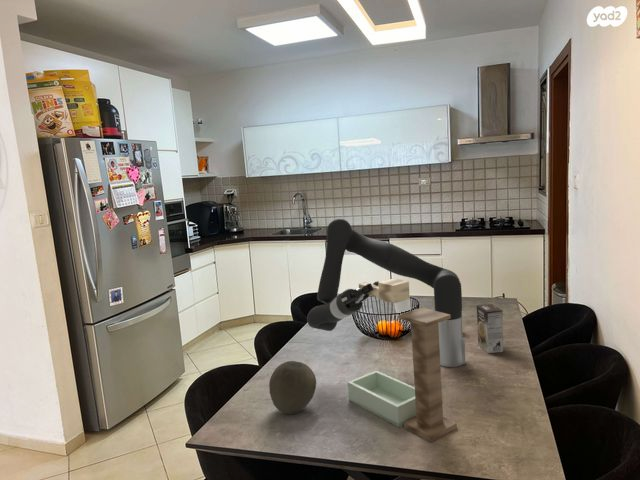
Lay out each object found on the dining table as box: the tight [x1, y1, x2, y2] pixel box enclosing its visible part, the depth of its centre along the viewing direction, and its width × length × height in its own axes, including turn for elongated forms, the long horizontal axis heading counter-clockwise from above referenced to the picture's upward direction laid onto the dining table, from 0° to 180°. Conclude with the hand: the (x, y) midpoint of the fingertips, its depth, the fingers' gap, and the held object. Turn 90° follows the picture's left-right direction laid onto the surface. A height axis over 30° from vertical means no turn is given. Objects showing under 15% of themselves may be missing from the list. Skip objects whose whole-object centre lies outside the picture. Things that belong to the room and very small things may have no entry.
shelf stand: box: [398, 307, 458, 443], centre depth 128 cm, size 10×10×32 cm
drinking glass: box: [394, 298, 411, 314], centre depth 209 cm, size 7×7×15 cm
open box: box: [347, 370, 416, 428], centre depth 144 cm, size 22×12×6 cm, turn 35°
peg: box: [358, 278, 411, 304], centre depth 139 cm, size 17×6×5 cm, turn 35°
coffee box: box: [476, 303, 504, 354], centre depth 181 cm, size 9×6×16 cm
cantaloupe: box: [268, 360, 317, 415], centre depth 146 cm, size 14×14×15 cm
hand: (375, 285), depth 141 cm, fingers closed on peg, 2 cm apart
